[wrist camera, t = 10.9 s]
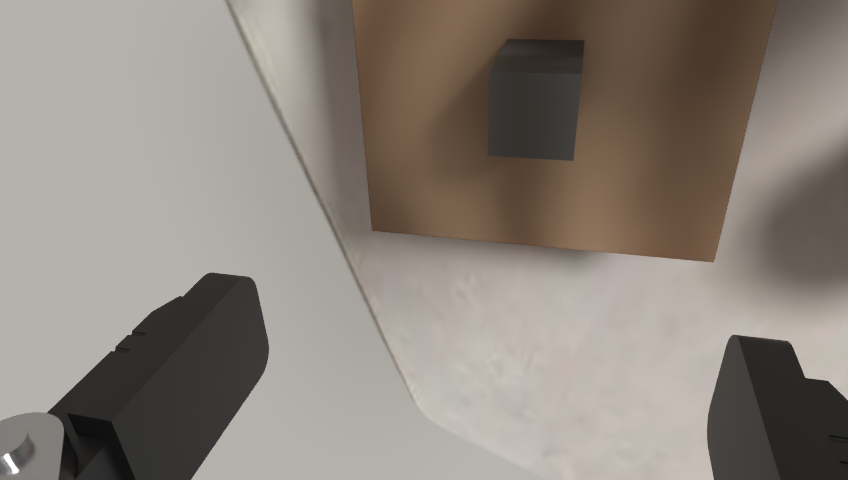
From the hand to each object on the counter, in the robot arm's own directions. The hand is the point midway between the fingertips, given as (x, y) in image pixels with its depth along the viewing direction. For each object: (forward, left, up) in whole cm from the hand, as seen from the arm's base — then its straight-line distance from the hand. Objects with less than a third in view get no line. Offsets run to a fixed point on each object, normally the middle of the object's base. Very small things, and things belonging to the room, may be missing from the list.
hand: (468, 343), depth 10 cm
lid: (0, 0, -18) cm, 18 cm away
